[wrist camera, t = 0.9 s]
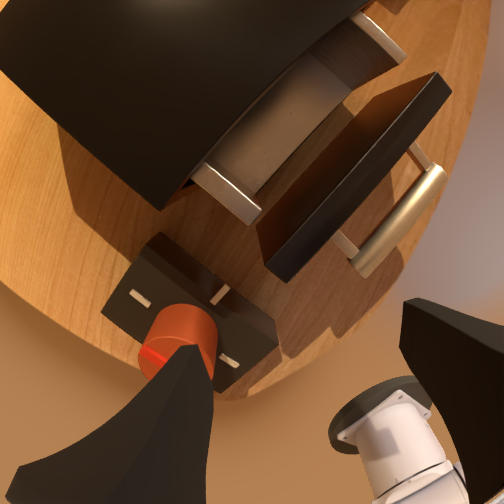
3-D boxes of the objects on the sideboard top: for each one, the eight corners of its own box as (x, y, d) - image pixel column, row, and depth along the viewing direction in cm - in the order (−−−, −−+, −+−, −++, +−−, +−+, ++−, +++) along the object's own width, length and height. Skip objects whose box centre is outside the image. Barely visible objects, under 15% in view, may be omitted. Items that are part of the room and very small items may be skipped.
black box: (329, 52, 14) (386, -11, 6) (198, 189, 17) (159, 212, 9) (164, -43, 11) (137, -107, 3) (52, 71, 13) (-23, 47, 5)
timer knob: (231, 329, 16) (229, 371, 13) (193, 366, 17) (185, 408, 14) (177, 290, 16) (160, 325, 12) (143, 332, 16) (123, 369, 13)
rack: (422, 153, 16) (493, 157, 9) (314, 277, 18) (349, 336, 11) (216, -21, 12) (208, -83, 5) (97, 98, 14) (33, 75, 7)
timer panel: (285, 309, 20) (292, 334, 17) (214, 375, 21) (211, 402, 18) (170, 218, 17) (155, 229, 14) (110, 302, 19) (93, 323, 16)
